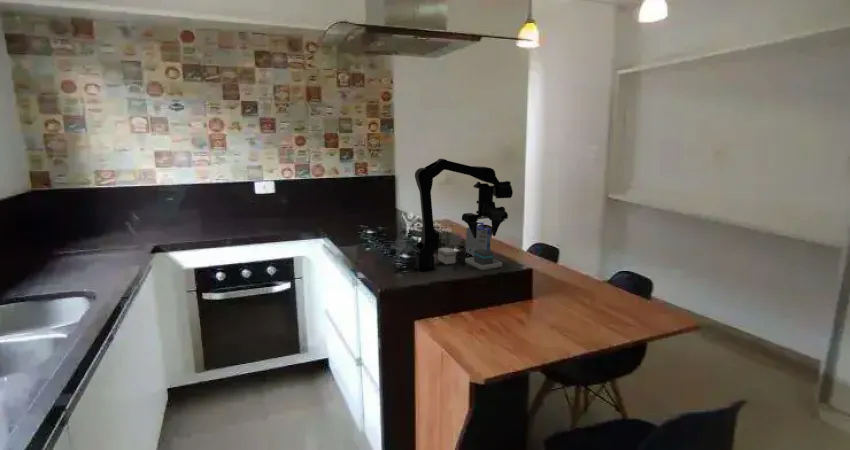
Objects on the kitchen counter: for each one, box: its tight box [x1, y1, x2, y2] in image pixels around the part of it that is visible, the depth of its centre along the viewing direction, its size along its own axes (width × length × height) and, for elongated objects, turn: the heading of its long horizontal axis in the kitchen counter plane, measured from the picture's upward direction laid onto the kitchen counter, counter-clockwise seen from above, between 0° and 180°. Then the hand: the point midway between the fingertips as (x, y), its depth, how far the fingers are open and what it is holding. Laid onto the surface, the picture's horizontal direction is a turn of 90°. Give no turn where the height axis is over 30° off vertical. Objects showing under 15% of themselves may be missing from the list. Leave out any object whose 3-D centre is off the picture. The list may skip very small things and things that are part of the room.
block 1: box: [437, 247, 457, 265], centre depth 194 cm, size 5×7×5 cm, turn 25°
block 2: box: [473, 249, 494, 265], centre depth 189 cm, size 5×7×5 cm, turn 27°
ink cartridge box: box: [465, 221, 492, 257], centre depth 202 cm, size 10×6×14 cm, turn 66°
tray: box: [464, 256, 503, 271], centre depth 189 cm, size 10×12×2 cm
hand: (484, 237), depth 187 cm, fingers open, 9 cm apart
